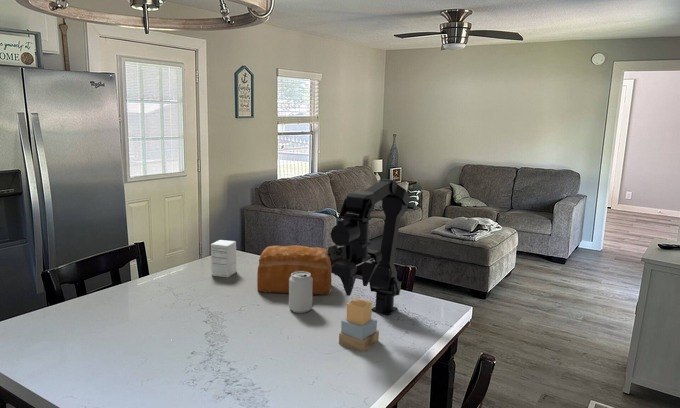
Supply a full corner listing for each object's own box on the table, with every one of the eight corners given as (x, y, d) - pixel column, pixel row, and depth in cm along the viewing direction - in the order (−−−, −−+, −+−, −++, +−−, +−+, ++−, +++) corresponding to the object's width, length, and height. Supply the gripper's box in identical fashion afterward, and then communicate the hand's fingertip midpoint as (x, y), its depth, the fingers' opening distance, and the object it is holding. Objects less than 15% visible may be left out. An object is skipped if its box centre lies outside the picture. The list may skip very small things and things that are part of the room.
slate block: (356, 324, 142) (356, 313, 142) (376, 331, 138) (377, 319, 138) (341, 332, 137) (341, 320, 136) (361, 340, 133) (362, 327, 132)
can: (308, 315, 156) (309, 278, 154) (285, 312, 158) (286, 276, 156) (314, 306, 164) (315, 271, 162) (292, 304, 165) (293, 269, 163)
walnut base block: (354, 335, 144) (354, 323, 143) (378, 342, 140) (378, 330, 139) (338, 345, 137) (339, 333, 137) (363, 353, 133) (364, 340, 132)
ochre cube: (355, 314, 141) (356, 298, 140) (371, 319, 138) (371, 301, 137) (346, 320, 136) (346, 303, 135) (362, 325, 134) (363, 307, 133)
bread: (263, 280, 188) (263, 240, 185) (332, 283, 186) (333, 243, 184) (254, 293, 174) (254, 250, 171) (329, 296, 173) (330, 253, 170)
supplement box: (220, 270, 199) (219, 239, 196) (237, 272, 197) (236, 241, 195) (210, 275, 192) (210, 243, 189) (228, 277, 190) (227, 245, 188)
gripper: (351, 227, 152) (350, 276, 155) (315, 240, 136) (314, 294, 139) (383, 232, 146) (381, 283, 149) (349, 247, 130) (348, 303, 133)
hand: (356, 290), depth 143 cm, fingers open, 9 cm apart
